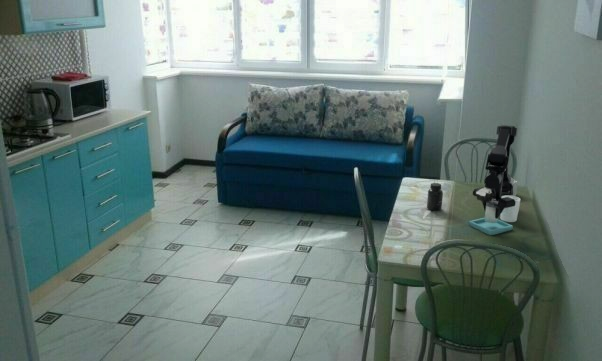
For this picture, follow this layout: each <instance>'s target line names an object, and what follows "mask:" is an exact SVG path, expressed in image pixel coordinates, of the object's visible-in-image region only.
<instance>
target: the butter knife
mask: <svg viewBox="0 0 602 361" xmlns="http://www.w3.org/2000/svg"><path fill="white" fill-rule="evenodd" d="M431 213H432V210H429V209H427V210H424V214H423V217H422V220H426V218H427V216H428V215H429V214H431Z"/></svg>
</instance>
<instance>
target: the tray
mask: <svg viewBox="0 0 602 361" xmlns="http://www.w3.org/2000/svg"><path fill="white" fill-rule="evenodd" d="M468 226H470V227H471V228H474V229H476V230H478V231H480V232H482V233H484V234H487V235H489V236H494V235H498V234H502V233H505V232H509V231H512V230H513V229H514V228H513V227H514V226H513V225H512V224H509V222H506V221H503V220H501V219H498V221H497V222H496V223H488V222H486V221H485V217H481V218H477V219H472V220H469V221H468Z"/></svg>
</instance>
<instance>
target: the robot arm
mask: <svg viewBox="0 0 602 361" xmlns="http://www.w3.org/2000/svg"><path fill="white" fill-rule="evenodd" d="M495 132H496V136H497V139H496V143H495V147H493V148H491V149H490V152H489V153H487V154H488V155H487V159H486V164H485V170H487V171H488V174H487V175H486V177H485V178H484V187H478V188H474V189H473V190H472V196H474V197H475V198H476V199H477V201H480V202H481V203H482V207H483V210H484V212H485V211H486V201H497V202H498V204H494V206H495V207H496V212H495V218H496V219H497V218H498V219H499V217H501V213H502V211H503V210H504V208H508V207H513V206H515V200H514V199H512V198H509V197H505V198H501V197H502V196H506V195H513V186H512V183H511V178H512V177H511V176H510V174H509V170H510V160H511V150H512V149H511V148H512V144H514V142H515V140H516V138H517V137H518V134H519V128H518V127H516V126H515V125H508V124H507V125H505V124H501V125H498V126H497V127H496V131H495ZM509 191H510V192H509Z"/></svg>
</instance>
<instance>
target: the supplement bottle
mask: <svg viewBox="0 0 602 361" xmlns="http://www.w3.org/2000/svg"><path fill="white" fill-rule="evenodd" d="M429 186H430V188H429V189H428V191H427V198H426V199H427V200H426V209H427V210H428V211H431V212H432V211H433V212H437V211H438V212H439V211H441V210H442V208H443V199H444V198H443V195H444V191H443V189H442V184H441V183H437V182H432V183H430V185H429Z"/></svg>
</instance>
